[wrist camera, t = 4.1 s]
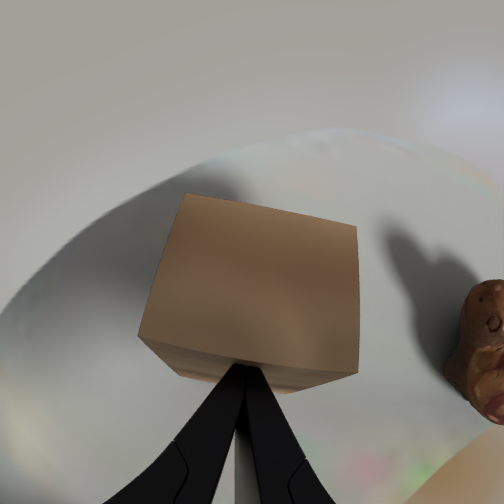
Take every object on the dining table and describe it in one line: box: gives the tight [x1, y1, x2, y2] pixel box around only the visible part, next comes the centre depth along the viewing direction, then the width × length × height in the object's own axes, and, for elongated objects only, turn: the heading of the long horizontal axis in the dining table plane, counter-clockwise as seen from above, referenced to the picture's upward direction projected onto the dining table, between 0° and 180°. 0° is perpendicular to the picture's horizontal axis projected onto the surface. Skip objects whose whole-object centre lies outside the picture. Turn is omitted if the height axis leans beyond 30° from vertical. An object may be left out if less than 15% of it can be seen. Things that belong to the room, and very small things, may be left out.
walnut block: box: [137, 193, 360, 394], centre depth 12 cm, size 5×6×9 cm
